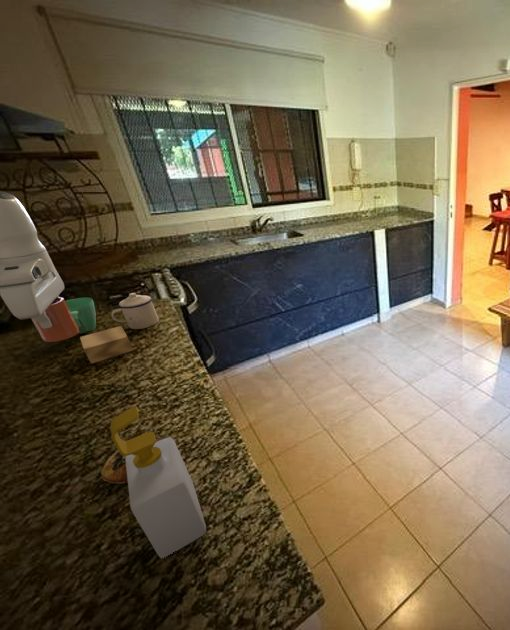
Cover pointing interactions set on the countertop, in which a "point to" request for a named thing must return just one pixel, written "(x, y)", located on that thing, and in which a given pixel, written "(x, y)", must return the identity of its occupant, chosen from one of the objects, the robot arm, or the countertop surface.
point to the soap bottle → (159, 488)
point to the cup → (58, 322)
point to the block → (106, 344)
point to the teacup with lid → (137, 311)
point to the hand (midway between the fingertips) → (53, 320)
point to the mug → (83, 313)
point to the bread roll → (117, 468)
